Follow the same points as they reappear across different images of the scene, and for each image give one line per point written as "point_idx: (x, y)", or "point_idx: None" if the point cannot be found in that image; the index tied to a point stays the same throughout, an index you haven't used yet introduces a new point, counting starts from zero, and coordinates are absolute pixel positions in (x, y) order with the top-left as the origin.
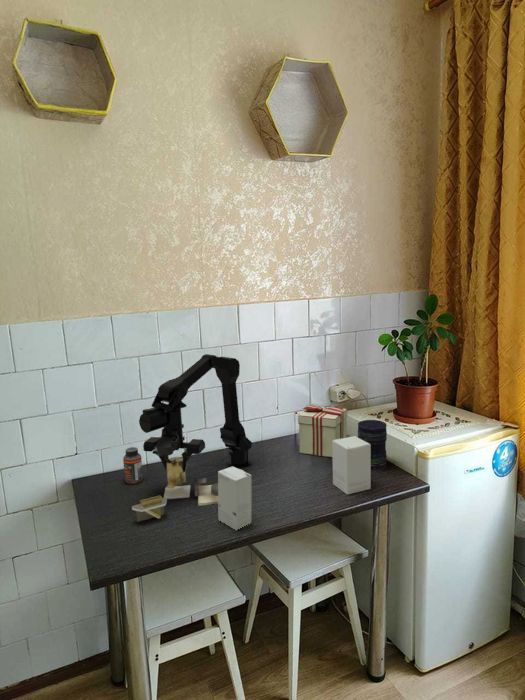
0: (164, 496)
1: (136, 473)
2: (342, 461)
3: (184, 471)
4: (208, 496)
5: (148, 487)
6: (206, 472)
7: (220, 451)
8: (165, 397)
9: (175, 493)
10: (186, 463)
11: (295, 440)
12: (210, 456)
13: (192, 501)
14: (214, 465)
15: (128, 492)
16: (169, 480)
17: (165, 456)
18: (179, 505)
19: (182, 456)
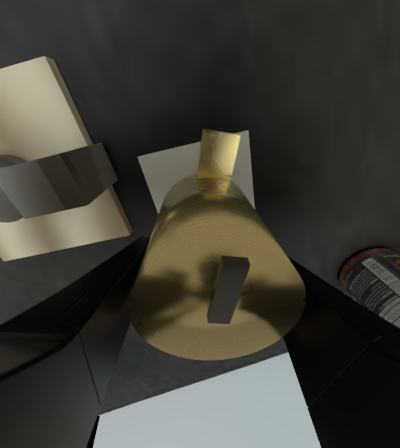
0: (247, 151)
1: (388, 278)
2: None
3: (141, 237)
4: (37, 144)
5: (317, 229)
6: None
7: (158, 389)
8: None
9: None
10: (86, 278)
11: None
12: (173, 374)
13: (108, 114)
14: (145, 346)
15: (394, 189)
16: (237, 188)
17: (334, 357)
18: (154, 63)
19: (25, 361)
